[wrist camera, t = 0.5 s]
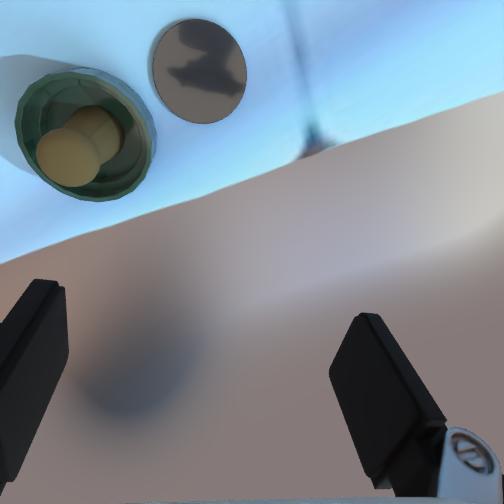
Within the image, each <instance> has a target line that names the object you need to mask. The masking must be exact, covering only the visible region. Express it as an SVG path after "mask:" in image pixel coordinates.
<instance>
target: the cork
mask: <svg viewBox="0 0 504 504" xmlns="http://www.w3.org/2000/svg"><path fill="white" fill-rule="evenodd" d="M124 141H125V137H124V130H123V128H122V125H121V123H120V122H119V121H118V119H117V118H116V117H115V115H113V114H112V113H111V112H109V111H108V110H107V109H104V108H102V107H99V106H92V105H88V106H84V107H80V108H79V109H77V110H76V111H75V112H74V113H73V114H72V115H71V117H70V118H69V119H68V121H67V122H66V123H65V125H64V126H63V128H58V129H54V130H51V131H49V132H48V133H47V134H45V135H44V136H42V138H41V140H40V141H39V143H38V145H37V150H36V157H37V162H38V164H39V166H40V168H41V170H42V171H43V172H44V173H45V174H46V175H47V177H48V178H49V179H51V180H53V181H54V182H56V183H58V184H60V185H64V186H67V187H78V186H82V185H85V184H87V183H89V182H90V181H92V180H93V179H94V178H95V176H96V175H97V173H98V172H99V169H100V165H101V164H103V163H105V162H106V161H108V160H110V159H111V158H113V157H114V156H116V155H117V154H119V152H120V151H121V149H122V148H123V145H124Z"/></svg>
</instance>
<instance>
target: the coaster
mask: <svg viewBox="0 0 504 504" xmlns="http://www.w3.org/2000/svg"><path fill="white" fill-rule="evenodd" d="M153 77H154V82H155V86H156V88H157V91H158V93H159V95H160V97H161V99H162V100H163V102H164V103H165V105H166V106H167V107H168V108H169V109H170V110H171V111H172V112H173V113H174V114H176V115H177V116H179V117H180V118H182V119H184V120H186V121H189V122H192V123H198V124H209V123H214V122H217V121H219V120H222V119H224V118H225V117H227V116H228V115H229V114H230V113H232V112H233V111H234V109H235V108H236V107H237V106H238V104H239V103H240V101H241V99H242V97H243V94H244V91H245V87H246V80H247V71H246V64H245V59H244V56H243V54H242V51H241V49H240V47H239V45H238V44H237V42H236V41H235V39H234V38H233V37H232V36H231V35H230V34H229V33H228V32H227V31H226V30H225V29H223V28H222V27H220V26H219V25H217V24H215V23H212V22H209V21H206V20H197V19H194V20H187V21H184V22H181V23H179V24H177V25H175V26H173V27H172V28H171V29H169V30H168V31H167V32H166V33H165V34H164V36H163V37H162V38H161V40H160V42H159V44H158V46H157V48H156V51H155V54H154V59H153Z"/></svg>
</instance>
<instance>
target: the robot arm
mask: <svg viewBox="0 0 504 504" xmlns="http://www.w3.org/2000/svg"><path fill="white" fill-rule="evenodd" d="M65 297H66V296H65V288H64V287H62V286H59V284H58V282H57V281H53V280H43V279H34V280H33V281H32V282H31V283H30V285H29V286H28V288H27V289H26V290H25V292H24V293H23V294H22V296H21V297H20V298H19V300H18V301H17V303H16V304H15V305H14V307H13V308H12V310H11V311H10V312H9V314H8V315H7V316H6V318H5V319H4V320H3V322H2V323H0V496H1V493H2V491H3V489H4V487H5V485H6V482H13V481H14V480H15V478H16V477H17V475H18V473H19V470H20V468H21V466H22V464H23V461H24V459H25V456H26V454H27V452H28V450H29V447H30V445H31V443H32V440H33V438H34V436H35V434H36V432H37V429H38V427H39V425H40V422H41V420H42V418H43V415H44V413H45V411H46V409H47V406H48V404H49V401H50V399H51V397H52V395H53V393H54V390H55V388H56V386H57V383H58V381H59V379H60V377H61V374H62V372H63V370H64V367H65V365H66V363H67V359H68V354H69V347H68V330H67V313H66V298H65ZM329 377H330V381H331V383H332V386H333V389H334V391H335V394H336V397H337V399H338V402H339V405H340V407H341V410H342V413H343V415H344V418H345V421H346V424H347V426H348V429H349V432H350V434H351V437H352V440H353V442H354V445H355V448H356V450H357V453H358V456H359V459H360V461H361V464H362V467H363V469H364V472H365V474H366V475H367V476H368V477H369V478H371V480H372V483H373V486H374V489H391V488H393V490H394V493H395V495H396V496H395V497H366V498H365V497H364V498H314V499H313V498H311V499H269V500H230V501H192V502H160V503H129V504H504V475H503V474H502V472H501V466H500V463H499V460H498V459H497V456H496V454H495V453H494V452H493V451H492V449H491V448H490V447H489V446H488V445H487V444H486V443H485V442H484V441H483V440H482V439H481V438H479V437H478V436H477V435H475V434H474V433H472V432H470V431H468V430H466V429H463V428H459V427H454V428H450V429H449V430H448V429H447V427H446V426H445V422H446V421H447V419H446V418H445V416H444V415H443V413H442V411H441V410H440V408H439V407H438V405H437V404H436V402H435V401H434V399H433V397H432V396H431V394H430V393H429V391H428V390H427V388H426V387H425V385H424V383H423V382H422V380H421V379H420V377H419V376H418V374H417V373H416V371H415V369H414V368H413V366H412V365H411V363H410V362H409V360H408V359H407V357H406V356H405V354H404V352H403V351H402V349H401V348H400V346H399V345H398V343H397V341H396V340H395V338H394V337H393V335H392V334H391V332H390V331H389V329H388V327H387V326H386V325H385V323H384V321H383V320H382V318H381V317H380V316H379V315H378V314H373V313H360V314H359V315H358V316H356V317H354V319H353V321H352V323H351V325H350V327H349V329H348V331H347V333H346V335H345V337H344V340H343V341H342V344H341V346H340V348H339V350H338V352H337V354H336V356H335V358H334V360H333V362H332V364H331V366H330V369H329ZM126 504H128V503H126Z"/></svg>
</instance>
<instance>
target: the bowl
mask: <svg viewBox="0 0 504 504" xmlns="http://www.w3.org/2000/svg"><path fill="white" fill-rule="evenodd" d="M88 105H92V106H99V107H102V108H104V109H107V110H108V111H109V112H111V113H112V114H113V115H115V117H116V118H117V119H118V121H119V122H120V123H121V125H122V128H123V130H124V137H125V141H124V145H123V148H122V149H121V151H120V152H119V154H117V155H116V156H114V157H113V158H111V159H110V160H108V161H106V162H105V163H103V164H101V165H100V169H99V172H98V173H97V175H96V176H95V178H94V179H93V180H92V181H90V182H89V183H87V184H85V185H82V186H78V187H67V186H64V185H60V184H58V183H56V182H54V181H53V180H51V179H49V178H48V177H47V175H46V174H45V173H44V172H43V171H42V170H41V168H40V166H39V164H38V162H37V157H36V150H37V145H38V143H39V141H40V140H41V138H42V136H44V135H45V134H47V133H48V132H49V131H51V130H54V129H58V128H63V126H64V125H65V123H66V122H67V121H68V119H69V118H70V117H71V115H72V114H73V113H74V112H75V111H76V110H77V109H79V108H80V107H84V106H88ZM15 128H16V134H17V140H18V143H19V146H20V148H21V150H22V152H23V154H24V156H25V158H26V160H27V162H28V164H29V165H30V166H31V167H32V168H33V170H34V171H35V172H36V173H37V174H38V175H39V176H40V177H41V179H42V180H43V181H45V182H46V183H48V184H49V185H51V186H52V187H54V188H55V189H56V190H58V191H59V192H61V193H63V194H66V195H69V196H71V197H74V198H76V199H79V200H84V201H93V202H104V201H110V200H116V199H119V198H121V197H123V196H125V195H127V194H129V193H131V192H133V191H134V190H135V189H136V188H137V187H138V185H139V184H140V183H141V182H142V181H143V180H144V179H145V177H146V174H147V172H148V170H149V168H150V165H151V163H152V160H153V158H154V155H155V152H156V130H155V127H154V123H153V119H152V116H151V114H150V112H149V111H148V109H147V107H146V106H145V104H144V102H143V101H142V99H141V98H140V96H138V95H137V94H136V93H135V92H134V91H133V90H132V89H131V88H130V87H129V86H128V85H127V84H126V83H124V82H123V81H121V80H119V79H117V78H115V77H113V76H111V75H110V74H108V73H106V72H103V71H98V70H93V69H87V68H78V69H72V70H65V71H61V72H57V73H53V74H48V75H46V76H44V77H43V78H41V79H40V80H38V81H36V82H35V83H33V84H31V85H30V86H29V87H28V89H27V90H26V92H25V93H24V95H23V96H22V97H21V99H20V100H19V103H18V107H17V112H16V117H15Z"/></svg>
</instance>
